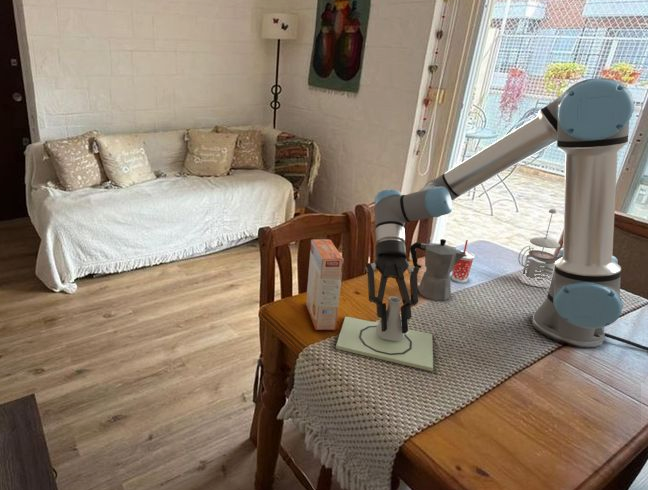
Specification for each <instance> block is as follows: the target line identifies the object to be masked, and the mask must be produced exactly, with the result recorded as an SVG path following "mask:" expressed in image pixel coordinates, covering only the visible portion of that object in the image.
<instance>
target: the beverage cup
mask: <svg viewBox="0 0 648 490" xmlns="http://www.w3.org/2000/svg"><path fill="white" fill-rule="evenodd" d="M468 241H469V240H468V239H466V240H465V243H464V248H463V250H461V251H462V252H464V253H465V254H466V256H464V257H462V258H461V259H460V260H459V261H458V262H457V263H456V264H455V265H454V268H453V270H452V272H451V280H452V281H454V282H457V283H462V284H464V283H467V282H468V280H469V275H470V272H471V268H472V264H473V262H474V260H475V254H473V253H472V252H469V251H467V246H468Z"/></svg>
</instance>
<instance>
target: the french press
mask: <svg viewBox="0 0 648 490" xmlns="http://www.w3.org/2000/svg"><path fill="white" fill-rule="evenodd" d="M548 213H549V214H551V216H550V219H549V222H548V226H547V231H546V235H545V236H537V237H536V236H535V237H532V238H530V239H529V243H530V244H532V245H534V246H536V247H540V248H542V250H539V249H534V247H531V245H526V246H524V247H523V248H522V249H521V250H520V251H519V253H518V260H517V261H518V264H519V265H521V266H522V267H523V269H522V273H523V274H525V270H527V273H526V276H527V277H530V278H535V277H542V278H546V279H548V280H550V279H551V280H552V276H553V272H554V269H555V262H556V260H555V259H556V256H555V255H554V254H553V253H550V252H548V251H545V250H544V249H559V248H560V247H561V244H560V243H559V242H558V241H556V240H554V239H553V238H549V237H548V233H549V229H550V225H551V222H552V217H553V214H557V210H556V209H555V208H550V209H549V210H548ZM526 248H527V250H526V251H524V250H525V249H526ZM523 251H524V253H523ZM526 252H528V254H527V255H526V257H525V261H523V259H524V256H525V254H526ZM521 253H523V254H522V256H521ZM520 257H521V261H520ZM523 262H524V263H523ZM535 270H537V271H541V272H537V271H535ZM534 274H545V275H548V276H551V278H548V277H546V276H541V275H536V276H534ZM537 280H543V279H537ZM551 280H550V281H551Z"/></svg>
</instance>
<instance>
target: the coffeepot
mask: <svg viewBox="0 0 648 490" xmlns="http://www.w3.org/2000/svg"><path fill="white" fill-rule="evenodd" d="M439 241H440V243H437V242H436V243H435V242H431V243H424V242H417V241H416V242H414V243H413V244H412V245H410V246H409V252H410V255H411V260H412V266H413V267H416V266H417V267H419V269H421V268H422V265H420V264H418V260H419V259H418V257H417V250H416V249H419V250H421V251H424V266H425V268H426V269H425V271H424V272H423V274H422V277H421V281H420V283H419V285H418V293H419V294H420V295H421V296H423V297H425V298H427V299H429V300H434V301H446V300H448V299H449V298H450V297H452V291H451V290H452V288H451V286H452V285H451V283H452V282H451V273H452V271H453V268H454V265H455V264H456V263H457V262H458V261H459V260H460V259H461V258H462V257H464V256H466V254H465V253H464V252H462V251H463V250H459V249H457V248H456V247H455V246H452V245H449V244H446V243H447V240H446V239H443V238H441V239H440V240H439Z"/></svg>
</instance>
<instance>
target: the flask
mask: <svg viewBox="0 0 648 490" xmlns="http://www.w3.org/2000/svg"><path fill="white" fill-rule="evenodd" d="M387 301H388V306H387V307H386V316H387V330H386V331H385V332H383V331H382V329H381V320H379V322H378V323H379V324H378V325H377V328H376V333H377V334H378V335H379V336H380V337H381V338H383V339H387V340H391V341H398V340H404V336H405V334H404V333H402V322H401V308H400V305H401V304H402V298H400V297H399V296H394V295H393V296H388V299H387Z"/></svg>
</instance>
